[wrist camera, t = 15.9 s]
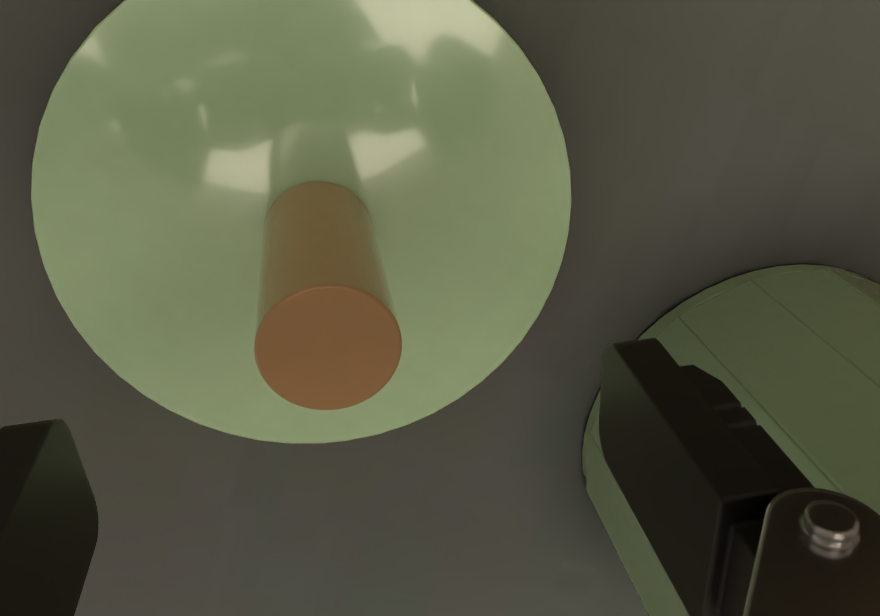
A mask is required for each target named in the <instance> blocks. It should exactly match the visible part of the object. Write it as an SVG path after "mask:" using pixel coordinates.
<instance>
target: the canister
mask: <svg viewBox="0 0 880 616" xmlns="http://www.w3.org/2000/svg"><path fill="white" fill-rule="evenodd" d="M648 338H656V339H657V340H658V341H659V342H660V343H661V344H662V345H663V346H664V348H665V349H666V350H667V351H668V353H669V354H670V355H671V356H672V358H673V359H674V360H675V361H676V363H677V364H678V365H679V366H686V365H695V366H696V367H698V368H700V369H702V370H703V371H705V372H707V373H709V374H710V375H712V376H714V377H716V378H717V379H719V380H721V381H722V382H723V383H724V384H725V385H726V386H727V387H728V389H729V390H730V391H731V392H732V393H733V394H734V396H735V397H736V398H737V399H738V400H739V401H740V402H741V407H745V408H746V409H747V410H748V412H749V413H750V414H751V415H752V416H753V417H754V418H755V420H756V423H757V425H761V426H762V428H763V429H764V430H765V431H766V432H767V433H768V434H769V436H770V437H771V438H772V439H773V440H774V441H775V442H776V444H777V445H778V446H779V447H780V448H781V449H782V450H783V452H784V453H785V454H786V455H787V456H788V457H789V458H790V460H791V461H792V462H793V463H794V464H795V465H796V467H797V468H798V469H799V470H800V471H801V472H802V473H803V475H804V476H805V477H806V478H807V479H808V480H809V481H810V483H811V484H812V485H813V486H814V487H815V488H821V489H827V490H831V491H835V492H839V493H842V494H845V495H847V496H850V497H852V498H854V499H856V500H858V501H860V502H862V503H864V504H866V505H867V506H868V507H870V508H871V509H873V510H874V511H875V512H876V513H878V514H879V515H880V284H878V283H874V282H872V281H870V280H869V279H867V278H865V277H863V276H861V275H858V274H855V273H853V272H850V271H848V270H844V269H839V268H835V267H830V266H824V265H807V264H798V265H785V266H776V267H771V268H765V269H760V270H755V271H752V272H749V273H745V274H742V275H739V276H736V277H733V278H730V279H727V280H725V281H723V282H721V283H718V284H716V285H714V286H712V287H709V288H707V289H705V290H703V291H701V292H700V293H698V294H696V295H694V296H693V297H691V298H689V299H687V300H686V301H684V302H682V303H681V304H679V305H678V306H677V307H675V308H674V309H672V310H671V311H670V312H668V313H667V314H665V315H664V316H663V317H661V318H660V319H659V320H658V321H657V322H656V323H654V324H653V325H652V326H651V327H650V328H649V329H648V330H646V331H645V332H644V333H643V334H642V335H641V336H640V337H639V338H638V339H637V340H641V339H648ZM600 390H601V389H600ZM599 408H600V391H599V393H598V395H597V397H596V400H595V402H594V405H593V407H592V409H591V412H590V415H589V418H588V422H587V426H586V429H585V433H584V442H583V450H582V461H583V474H584V478H585V483H586V490H587V494H588V496H589V498H590V499H591V501H592V503H593V505H594V507H595V509H596V511H597V513H598V515H599V517H600V519H601V521H602V523H603V525H604V527H605V529H606V531H607V533H608V535H609V537H610V539H611V541H612V543H613V545H614V547H615V549H616V551H617V553H618V555H619V557H620V559H621V561H622V563H623V565H624V567H625V569H626V571H627V573H628V575H629V577H630V579H631V581H632V583H633V585H634V587H635V589H636V591H637V593H638V595H639V597H640V599H641V601H642V603H643V605H644V607H645V609H646V611H647V613H648V615H649V616H689V614H688V612H687V610H686V609H685V607H684V605H683V603H682V601H681V599H680V597H679V596H678V594H677V592H676V590H675V588H674V586H673V585H672V583H671V581H670V579H669V577H668V575H667V574H666V572H665V570H664V568H663V566H662V564H661V563H660V561H659V559H658V557H657V555H656V553H655V552H654V550H653V548H652V546H651V544H650V542H649V541H648V539H647V537H646V535H645V533H644V531H643V530H642V528H641V526H640V524H639V522H638V520H637V518H636V517H635V515H634V513H633V511H632V509H631V507H630V506H629V504H628V502H627V500H626V498H625V496H624V495H623V493H622V491H621V489H620V487H619V485H618V484H617V482H616V480H615V478H614V476H613V474H612V473H611V471H610V469H609V467H608V465H607V463H606V461H605V458H604V455H603V452H602V448H601V443H600V437H599Z"/></svg>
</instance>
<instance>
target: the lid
mask: <svg viewBox="0 0 880 616" xmlns="http://www.w3.org/2000/svg"><path fill="white" fill-rule="evenodd" d="M31 203H32V212H33V222H34V231H35V235H36V239H37V243H38V247H39V250H40V254H41V258H42V262H43V266H44V268H45V270H46V273H47V275H48V277H49V280H50V282H51V285H52V287H53V289H54V292H55V294H56V296H57V298H58V300H59V302H60V303H61V305H62V307H63V308H64V310H65V312H66V313H67V315H68V317H69V319H70V320H71V322H72V324H73V325H74V327H75V328H76V329H77V331H78V332H79V333H80V334H81V336H82V337H83V338H84V339H85V341H86V342H87V343H88V345H89V346H90V347H91V348H92V350H93V351H94V352H95V353H96V354H97V355H98V356H99V357H100V358H101V359H102V360H103V361H104V362H105V363H106V364H107V365H108V366H109V367H110V368H111V369H112V370H113V371H114V372H115V373H116V374H117V375H118V376H120V377H121V378H122V379H124V380H125V381H126V382H127V383H129V384H130V385H131V386H133V387H134V388H135V389H137V390H138V391H139V392H140V393H142V394H143V395H145V396H146V397H148V398H150V399H151V400H153V401H155V402H156V403H158V404H160V405H161V406H163V407H165V408H166V409H168V410H170V411H172V412H174V413H176V414H178V415H180V416H183V417H185V418H187V419H189V420H191V421H193V422H196V423H198V424H200V425H203V426H206V427H210V428H213V429H216V430H219V431H222V432H225V433H228V434H232V435H237V436H241V437H246V438H251V439H255V440H261V441H271V442H280V443H329V442H339V441H348V440H354V439H358V438H363V437H368V436H373V435H377V434H381V433H384V432H387V431H390V430H393V429H396V428H400V427H403V426H406V425H408V424H410V423H413V422H415V421H417V420H419V419H422V418H424V417H426V416H429V415H431V414H433V413H435V412H436V411H438V410H440V409H442V408H443V407H445V406H447V405H449V404H450V403H452V402H454V401H456V400H457V399H459V398H460V397H462V396H463V395H464V394H466V393H467V392H468V391H470V390H471V389H472V388H474V387H475V386H477V385H478V384H479V383H481V382H482V381H483V380H484V379H485V378H486V377H487V376H488V375H490V374H491V373H492V372H493V371H494V370H495V369H496V368H497V367H498V366H499V365H500V364H502V363H503V362H504V360H505V359H506V358H507V357H508V356H509V355H510V353H511V352H512V351H513V350H514V349H515V348H516V347H517V345H518V344H519V343H520V342H521V341H522V339H523V338H524V336H525V335H526V333H527V332H528V331H529V329H530V328H531V326H532V325H533V323H534V322H535V320H536V319H537V317H538V316H539V314H540V312H541V310H542V308H543V306H544V304H545V302H546V300H547V298H548V296H549V294H550V292H551V290H552V288H553V285H554V282H555V280H556V277H557V274H558V271H559V269H560V266H561V263H562V259H563V255H564V251H565V246H566V242H567V237H568V233H569V223H570V212H571V177H570V166H569V160H568V155H567V149H566V144H565V138H564V135H563V132H562V129H561V126H560V123H559V120H558V117H557V114H556V110H555V107H554V105H553V103H552V101H551V99H550V97H549V95H548V93H547V91H546V89H545V87H544V85H543V82H542V80H541V78H540V76H539V75H538V73H537V72H536V70H535V69H534V67H533V66H532V64H531V63H530V61H529V60H528V58H527V57H526V55H525V54H524V52H523V51H522V49H521V48H520V46H519V45H518V44H517V43H516V42H515V41H514V40H513V39H512V38H511V36H510V35H509V34H508V33H507V32H506V31H505V30H504V29H503V28H502V26H501V25H500V24H499V23H498V22H497V21H496V20H495V19H494V18H493V17H492V16H491V15H489V14H488V13H487V12H486V11H485V10H483V9H482V8H481V7H480V6H479V5H477V4H476V3H475V2H474V1H473V0H124V1H123V2H121V3H120V4H119V5H118V6H117V7H116V8H115V9H114V10H113V11H112V12H111V13H110V14H109V15H107V16H106V17H105V18H104V19H103V20H102V21H101V22H100V23H99V24H98V25H97V26H96V27H95V28H94V29H93V30H92V31H91V33H90V34H89V35H88V37H87V38H86V39H85V40H84V42H83V43H82V44H81V45H80V47H79V48H78V49H77V50H76V52H75V53H74V54H73V56H72V57H71V58H70V60H69V62H68V64H67V65H66V67H65V69H64V71H63V73H62V74H61V76H60V78H59V80H58V81H57V83H56V85H55V87H54V89H53V90H52V93H51V96H50V98H49V101H48V104H47V106H46V109H45V112H44V115H43V117H42V120H41V123H40V125H39V130H38V135H37V140H36V145H35V150H34V155H33V160H32V181H31Z"/></svg>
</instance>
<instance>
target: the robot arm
mask: <svg viewBox="0 0 880 616" xmlns="http://www.w3.org/2000/svg"><path fill="white" fill-rule="evenodd" d="M599 437H600V443H601V448H602V452H603V455H604V458H605V461H606V463H607V465H608V467H609V469H610V471H611V473H612V474H613V476H614V478H615V480H616V482H617V484H618V485H619V487H620V489H621V491H622V493H623V495H624V496H625V498H626V500H627V502H628V504H629V506H630V507H631V509H632V511H633V513H634V515H635V517H636V518H637V520H638V522H639V524H640V526H641V528H642V530H643V531H644V533H645V535H646V537H647V539H648V541H649V542H650V544H651V546H652V548H653V550H654V552H655V553H656V555H657V557H658V559H659V561H660V563H661V564H662V566H663V568H664V570H665V572H666V574H667V575H668V577H669V579H670V581H671V583H672V585H673V586H674V588H675V590H676V592H677V594H678V596H679V597H680V599H681V601H682V603H683V605H684V607H685V609H686V610H687V612H688V614H689V616H880V515H879V514H878V513H876V512H875V511H874V510H873V509H871V508H870V507H868V506H867V505H866V504H864V503H862V502H860V501H858V500H856V499H854V498H852V497H850V496H847V495H845V494H842V493H839V492H835V491H831V490H827V489H821V488H815V487H814V486H813V485H812V484H811V483H810V481H809V480H808V479H807V478H806V477H805V476H804V475H803V473H802V472H801V471H800V470H799V469H798V468H797V467H796V465H795V464H794V463H793V462H792V461H791V460H790V458H789V457H788V456H787V455H786V454H785V453H784V452H783V450H782V449H781V448H780V447H779V446H778V445H777V444H776V442H775V441H774V440H773V439H772V438H771V437H770V436H769V434H768V433H767V432H766V431H765V430H764V429H763V428H762V426H761V425H757V423H756V420H755V418H754V417H753V416H752V415H751V414H750V413H749V412H748V410H747V409H746V408H745V407H741V402H740V401H739V400H738V399H737V398H736V397H735V396H734V394H733V393H732V392H731V391H730V390H729V389H728V387H727V386H726V385H725V384H724V383H723V382H722V381H721V380H719V379H717V378H716V377H714V376H712V375H710V374H709V373H707V372H705V371H703V370H702V369H700V368H698V367H696V366H695V365H686V366H679V365H678V364H677V363H676V361H675V360H674V359H673V358H672V356H671V355H670V354H669V353H668V351H667V350H666V349H665V348H664V346H663V345H662V344H661V343H660V342H659V341H658V340H657V339H656V338H648V339H641V340H634V341H627V342H619V343H612V344H607V345H606V346H605V348H604V351H603V355H602V371H601V390H600V408H599ZM97 537H98V512H97V506H96V501H95V498H94V495H93V492H92V490H91V487H90V484H89V481H88V479H87V476H86V473H85V470H84V468H83V465H82V462H81V459H80V457H79V454H78V451H77V448H76V446H75V443H74V440H73V437H72V435H71V432H70V430H69V428H68V426H67V424H66V423H65V422H64V421H63V420H61V419H54V420H47V421H39V422H32V423H25V424H18V425H11V426H4V427H2V428H1V429H0V616H74V614H75V611H76V608H77V604H78V601H79V598H80V595H81V592H82V588H83V585H84V582H85V579H86V575H87V572H88V569H89V566H90V562H91V559H92V556H93V553H94V549H95V546H96V542H97Z"/></svg>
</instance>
